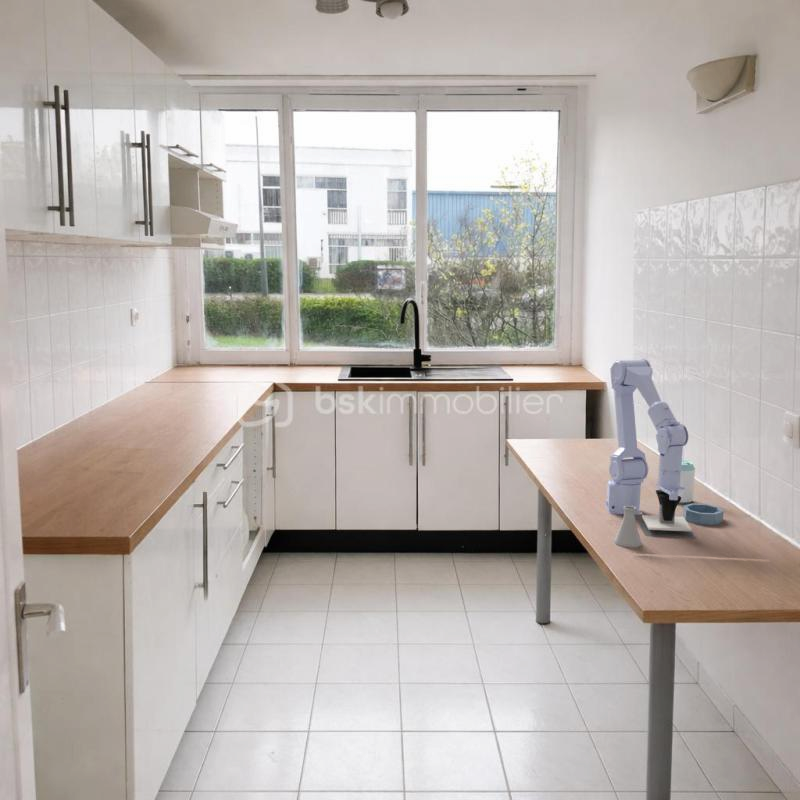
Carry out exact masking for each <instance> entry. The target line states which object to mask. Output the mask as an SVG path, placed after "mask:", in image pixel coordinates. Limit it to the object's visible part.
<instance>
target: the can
mask: <svg viewBox="0 0 800 800" xmlns="http://www.w3.org/2000/svg"><path fill="white" fill-rule="evenodd" d="M695 472H696V467H694V463H693V461H689V460H683V459H682V466H681V480H680V485H683V486H684V487H685V489H684V490H680V491H679V493H678V496H680V497H681V501H680V502H679V503H678V504H685V505H687V504H691V502H692V501H694V489H695V475H696V474H695Z"/></svg>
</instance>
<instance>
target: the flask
mask: <svg viewBox="0 0 800 800" xmlns="http://www.w3.org/2000/svg"><path fill="white" fill-rule="evenodd" d="M623 508H624V514H623V518H622V521H621V524H620V526H619V529H618V531H617V533H616V535H615V537H614V539H613V543H614V544H615V545H616V546H619V547H623V548H639V547H640V546H643V542H642V540H641V537H640V534H639V530H638V526H637V523H636V516H635V515H636V514H635V510H636V507H634V506H624V507H623Z"/></svg>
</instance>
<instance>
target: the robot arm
mask: <svg viewBox="0 0 800 800" xmlns="http://www.w3.org/2000/svg"><path fill="white" fill-rule="evenodd" d="M609 369H610V381H611V389H613V396H614V397H613V398H614V408H615V409H614V411H615V421H616V432H617V433H616V434H617V449H616V450H615V451H614V452H613V453H612V454H611V455H610V464H609V468H608V471H609V474H610V478H611V479H612V480H608V481H607V482H606V495H605V497H606V498H605V507H606V509H607V512H608V514H615V515H616V514H617V515H624V508H623V507H624V506H634V507H636V510H635V515H636V516H637V515H640V516H641V515H643V512H642V510H641V508H640V505H641V491H642V490H641V487H642V483H644V480H645V479H646V478H647V476H648V474H649V465H648V462H647V460H646V453H645V452H643V451H642V450H641V449H640V448H639V447H638V439H637V428H636V416H635V404H634V403H635V402H634V392H635V391H636V389H637V390H638V391H639V393H640V395H641V396H642V397H643V399H644V401H645V402H646V404H647V406H648V410H647V414H648V416H649V418H650V421H651V422H652V424H653V426H654V428H655V430H656V432H657V433H656V434H655V438H656V439H655V440H656V443H657V446H658V447H657V450H658V453H659V461H658V477H657V484H656V488H657V490H655V493H656V495H657V498H658V504H659V505H660V504H662V513H663V520H664V521H672V519H673V516H674V512H675V513H676V509H677V507H678V505H679V504H680V503H679V502H680V501H681V497H680V496H678V493H679V491H680V490H684V489H685V487H684V486H683V485H680V480H681V466H682V460H683V451H684V448H683V447H684V446H686V445H687V444H688V441H689V431H688V429H687V426H686V425H684V424H682V423H681V422H680V421H677V419H676V418H675V415H674V414H673V412H672V410H671V408H670V406H669V404H668V403H667V402H665V401H662V399H661V397H660V396H659V393H658V390H657V388H656V385H655V384H654V381H653V379H652V378H653V372H654V371H653V368H652V365H651V363H650V361H649V360H648V359H646V358H642V359H616V360H615V361H614V362H613V364H612V365H611V367H610V368H609ZM628 458H629V459H628Z"/></svg>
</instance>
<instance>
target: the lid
mask: <svg viewBox="0 0 800 800" xmlns="http://www.w3.org/2000/svg"><path fill="white" fill-rule="evenodd" d="M641 518H642V520H643V521H644V522H645V523H646V525H647V527H648V529H649V530H670V531H692V532H693V529H692V527H691V526H690V524H689V523H688V521H686V520H685V519H684V517H683V516H676V511H675V512H674V516H673V519H672V521H664V520H663V513H662V504H659V511H658V515H652V514H651V515H650V514H649V515H647V514H642V516H641Z"/></svg>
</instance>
